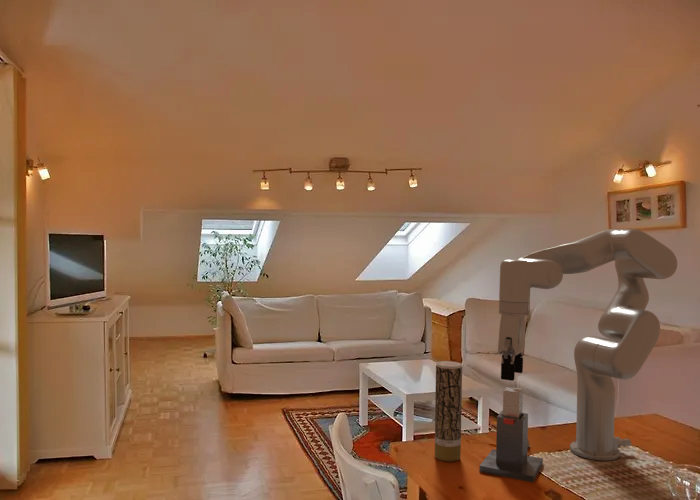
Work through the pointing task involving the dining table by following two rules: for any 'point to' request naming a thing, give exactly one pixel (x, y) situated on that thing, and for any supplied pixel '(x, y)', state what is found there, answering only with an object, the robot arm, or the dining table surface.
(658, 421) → the dining table surface
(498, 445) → the stand
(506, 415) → the column
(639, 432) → the dining table surface
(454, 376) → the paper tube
